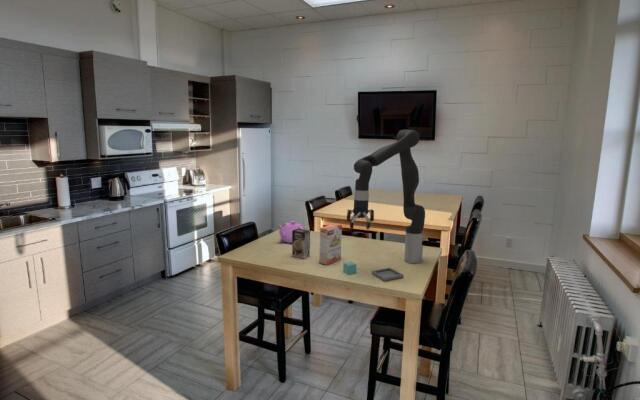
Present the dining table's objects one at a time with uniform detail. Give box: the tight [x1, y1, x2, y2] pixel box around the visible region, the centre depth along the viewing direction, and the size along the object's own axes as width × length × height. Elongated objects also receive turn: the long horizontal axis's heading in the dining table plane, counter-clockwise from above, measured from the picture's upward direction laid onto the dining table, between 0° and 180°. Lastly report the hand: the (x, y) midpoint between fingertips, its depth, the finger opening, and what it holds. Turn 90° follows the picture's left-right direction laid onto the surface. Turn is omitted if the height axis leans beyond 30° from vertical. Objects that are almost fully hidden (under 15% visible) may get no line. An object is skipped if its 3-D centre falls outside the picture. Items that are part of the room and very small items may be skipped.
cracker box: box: [318, 223, 343, 266], centre depth 221 cm, size 14×6×21 cm, turn 142°
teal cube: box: [342, 261, 357, 275], centre depth 206 cm, size 5×5×5 cm
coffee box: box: [291, 228, 311, 260], centre depth 230 cm, size 9×6×16 cm
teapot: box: [277, 220, 305, 244], centre depth 261 cm, size 22×22×14 cm
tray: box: [371, 267, 404, 283], centre depth 201 cm, size 12×12×2 cm
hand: (359, 229), depth 204 cm, fingers open, 8 cm apart
